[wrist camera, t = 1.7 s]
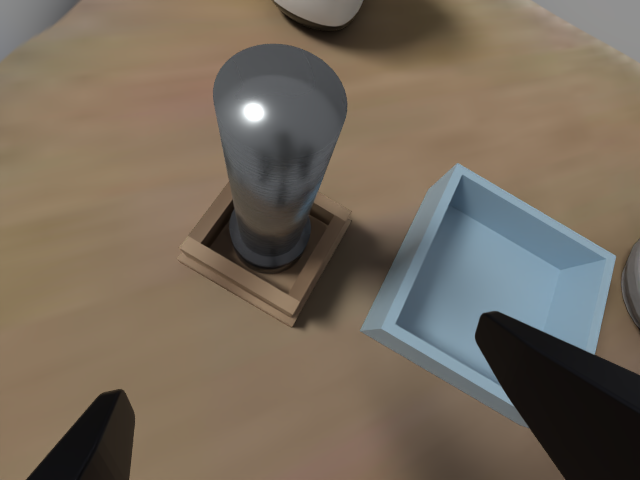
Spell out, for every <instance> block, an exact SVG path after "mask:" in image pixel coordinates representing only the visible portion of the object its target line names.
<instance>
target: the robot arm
mask: <svg viewBox="0 0 640 480" xmlns="http://www.w3.org/2000/svg"><path fill="white" fill-rule="evenodd" d="M475 341H476V343H477V345H478V347H479V349H480V351H481V352H482V354H483V356H484V357H485V359H486V361H487V363H488V364H489V366H490V368H491V370H492V371H493V373H494V375H495V377H496V378H497V380H498V382H499V384H500V385H501V387H502V389H503V390H504V392H505V393H506V395H507V397H508V398H509V400H510V401H511V403H512V404H513V405H514V407H515V408H516V410H517V411H518V413H519V414H520V415H521V417H522V418H523V420H524V421H525V423H526V424H527V425H528V427H529V428H530V430H531V431H532V433H533V434H534V435H535V437H536V438H537V440H538V441H539V442H540V444H541V445H542V447H543V448H544V450H545V451H546V452H547V454H548V455H549V457H550V458H551V460H552V461H553V462H554V464H555V465H556V467H557V468H558V470H559V471H560V472H561V474H562V475H563V477H564V478H565V480H640V375H638V374H636V373H634V372H632V371H629V370H627V369H625V368H623V367H620V366H618V365H616V364H614V363H612V362H609V361H607V360H605V359H603V358H601V357H598V356H596V355H594V354H592V353H590V352H587V351H585V350H583V349H581V348H578V347H576V346H574V345H572V344H570V343H567V342H565V341H563V340H561V339H559V338H556V337H554V336H552V335H550V334H547V333H545V332H543V331H541V330H539V329H536V328H534V327H532V326H530V325H528V324H525V323H523V322H521V321H519V320H516V319H514V318H512V317H510V316H508V315H505V314H503V313H501V312H499V311H490V312H485V313H482V314H481V316H480V318H479V321H478V325H477V328H476V332H475ZM134 427H135V414H134V411H133V408H132V406H131V404H130V402H129V400H128V397H127V395H126V393H125V392H124V390H122V389H117V390H113V391H108V392H104V393H102V394H100V395H99V396H98V397H97V398H96V399H95V400H94V401H93V403H92V404H91V405H90V406H89V407H88V408H87V410H86V411H85V412H84V413H83V414H82V415H81V417H80V418H79V419H78V420H77V421H76V422H75V423H74V425H73V426H72V427H71V428H70V429H69V430H68V432H67V433H66V434H65V435H64V436H63V437H62V439H61V440H60V441H59V442H58V443H57V444H56V445H55V447H54V448H53V449H52V450H51V451H50V452H49V454H48V455H47V456H46V457H45V458H44V459H43V461H42V462H41V463H40V464H39V465H38V466H37V467H36V469H35V470H34V471H33V472H32V473H31V474H30V476H29V477H28V478H27V479H26V480H129V476H130V466H131V457H132V447H133V437H134Z"/></svg>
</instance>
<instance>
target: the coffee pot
mask: <svg viewBox="0 0 640 480" xmlns="http://www.w3.org/2000/svg"><path fill="white" fill-rule="evenodd" d="M621 287H622V294H623V299H624V302H625V304H626V307H627V310H628V312H629V314H630V315H631V317H632V319H633V320H634V322H635V324H636V325H637V326H638V327H639V328H640V239H639V240H638V241H637V242H636V243H635V244H634V246H633V248H632V250H631V253H630V255H629V258H628V260H627V262H626V265H625V268H624V270H623V273H622V282H621Z"/></svg>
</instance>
